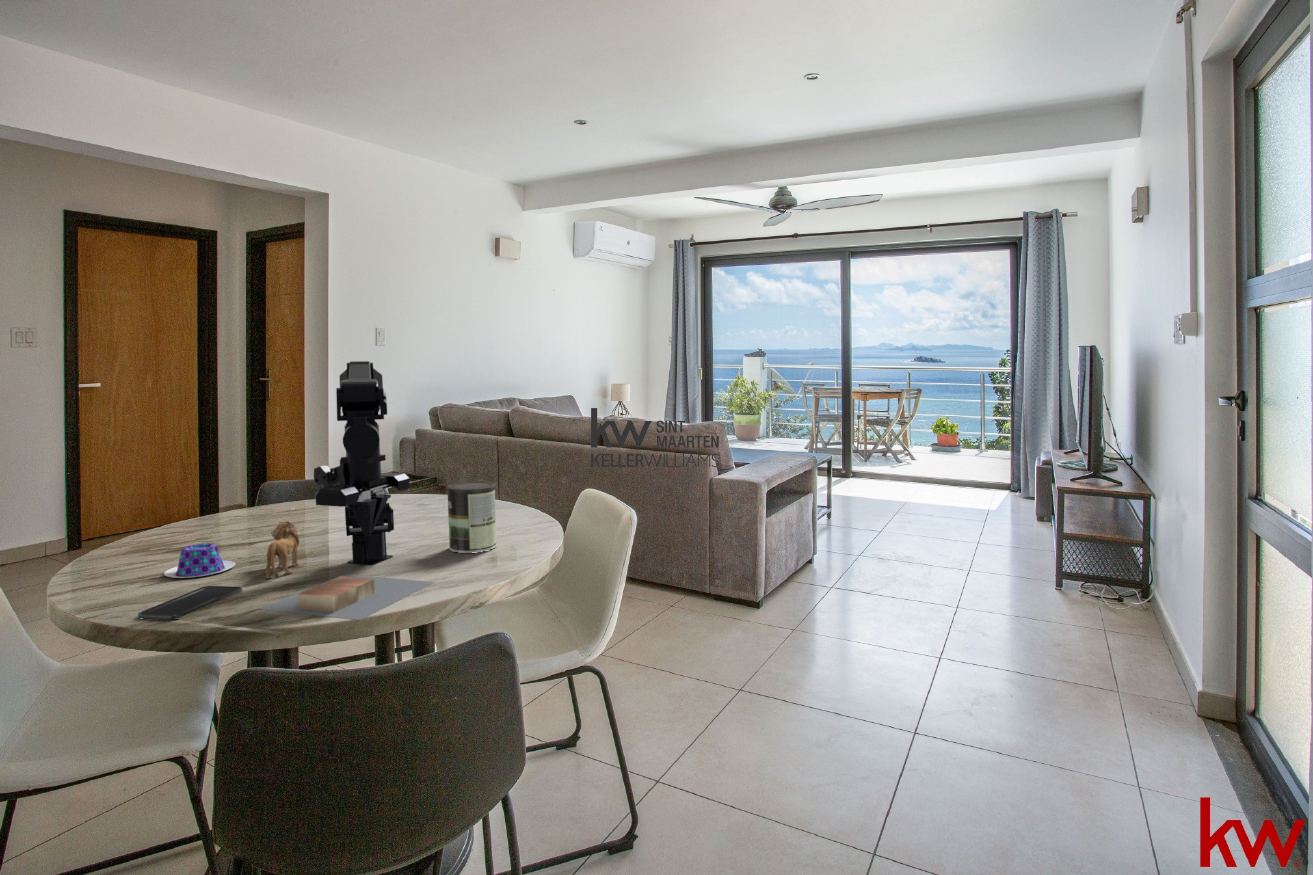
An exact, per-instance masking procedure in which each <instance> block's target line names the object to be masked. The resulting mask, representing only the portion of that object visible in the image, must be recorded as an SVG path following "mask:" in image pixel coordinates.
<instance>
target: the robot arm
mask: <svg viewBox="0 0 1313 875" xmlns="http://www.w3.org/2000/svg"><path fill="white" fill-rule="evenodd" d="M338 377H339V387H336V390H335V391H336V392H335V394H336V396H335V397H336V421H337V422H344V421H345V422H346V423H345V425H344V434H343V437H342V444H343V447H344V449H345V456H342V457H340V459H339V465H338V466H336V467H332V468H330V467H329V465H326V464H325V465H319V466H317V467H315V468H314V469H313V480H314V481H313V482H314V483H315V485H316V486H322V488H318V490H317V491H316V492H315V495H314V497H315V505H316V506H325V507H327V506H328V507H342V508H343V507H344V516H345V517H344V518H345V532H346V537H350V536H351V538H352V543H351V549H352V550H351V551H352V552H351V553H352V554H351V555H352V559H350V560H347V564H354V565H365V566H367V565H369V566H374V565H377V564H380V563H383V562H384V561H387V560H389V559H391V558H394V555H392V554H388V553H387V536H386V533H391V532H392V531H395V524H394V523H395V522H394V521H395V518H394V508H392V507H391V505H390V502H388V499H391V497H392V496H391V494H386V492H385V490H384V489H388V488H396V489H397V490H398V491H404V490H406V489H410V486H411V485H410V477H409V476H408V475H407V474H406V473H403V472H402V473H399V472H383V473H382V466H381V465H382V463H381V462H384V461H386V454H381V443H380V442H381V441H380V425H379V424H378V422H377V420H385V415H386V416H387V415H388V404H387V403H388V402H387V393H386V392H385V391H384V383H383V374H382V373H380V372H379V371H377V370H376V369H375V368H374V362H371V361H368V360H365V361H363V360H362V361H361V360H360V361H357V360H355V361H349V362H346V369H345V370H344V371H343V372H342V373H341V374H339V376H338ZM379 412H380V413H379Z"/></svg>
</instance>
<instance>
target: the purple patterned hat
mask: <svg viewBox="0 0 1313 875" xmlns="http://www.w3.org/2000/svg"><path fill="white" fill-rule="evenodd" d="M218 548H219V547H218V546H217V545H216V544H213V543H210V542H209V543H208V542H207V543H198V544H197V543H196V544H191V545H188V546H184V547H182V548H181V550H180V555H179V559H178V564H177V566H175V567H172V568H170V569H167V570H165V571H164V572H163V575H164V576H166V577H168V578H173V579H175V578H178V579H185V578H186V579H187V578H188V579H189V578H199V577H204V576H205V577H206V576H210V575H214V574H219V573H222V572H226V571H227V570H230V569H232V568H234V567H235V565H236V562H234V561H231V560H226V559H225V560H224V559H223V558H222V557H221V553H220V551H219V549H218Z"/></svg>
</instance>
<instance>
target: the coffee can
mask: <svg viewBox="0 0 1313 875" xmlns="http://www.w3.org/2000/svg"><path fill="white" fill-rule="evenodd" d="M495 489H496V483H494V482H491V481H484V480H483V481H480V480H478V481H461V482H455V483H451V484H447V486H446V491H447V511H448V512H447V513H448V517H447V518H448V536H449V537H448V538H449V539H448V540H449V551H450V550H451V551H452V552H451V551H450V552H451V553H454V552H458V553H457V554H460V553H472V552H481V551H485V550H489V549H491V548H494V547H495V546H496V544H497V521H496V518H497V517H496V516H497V515H496V490H495Z"/></svg>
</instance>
